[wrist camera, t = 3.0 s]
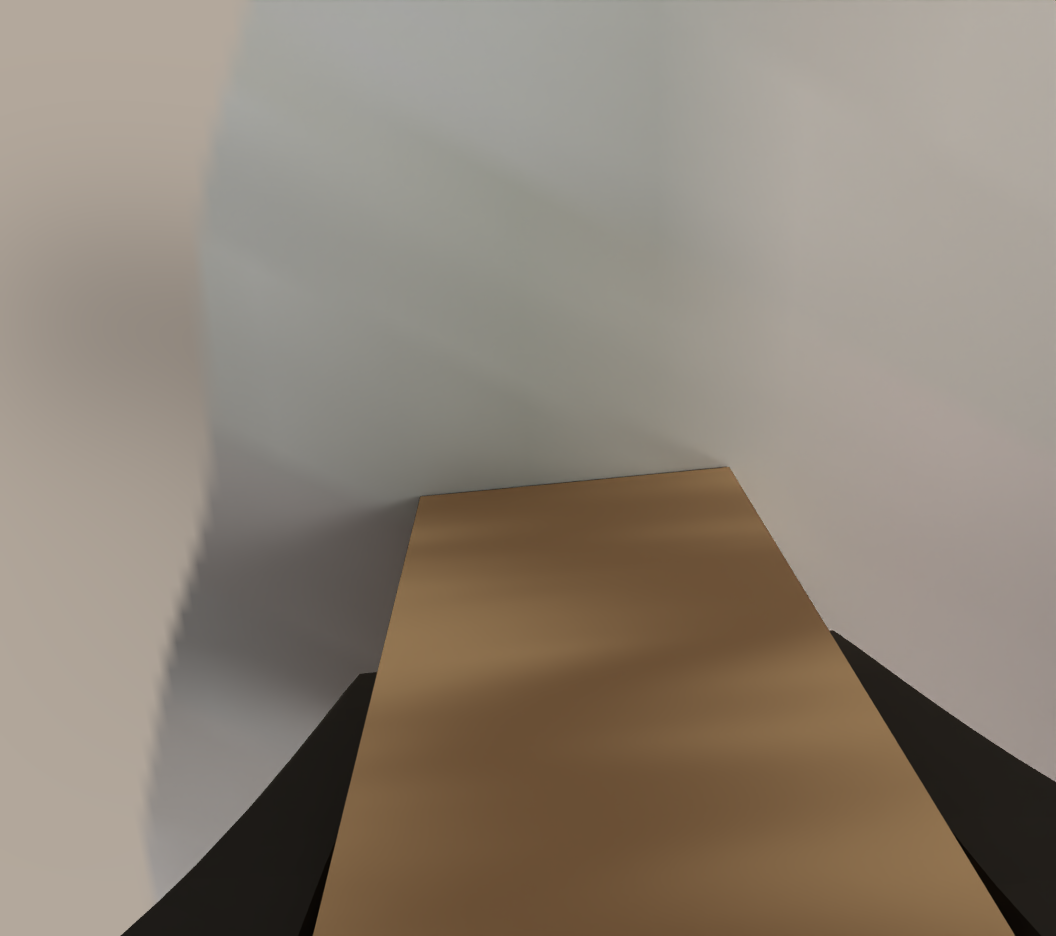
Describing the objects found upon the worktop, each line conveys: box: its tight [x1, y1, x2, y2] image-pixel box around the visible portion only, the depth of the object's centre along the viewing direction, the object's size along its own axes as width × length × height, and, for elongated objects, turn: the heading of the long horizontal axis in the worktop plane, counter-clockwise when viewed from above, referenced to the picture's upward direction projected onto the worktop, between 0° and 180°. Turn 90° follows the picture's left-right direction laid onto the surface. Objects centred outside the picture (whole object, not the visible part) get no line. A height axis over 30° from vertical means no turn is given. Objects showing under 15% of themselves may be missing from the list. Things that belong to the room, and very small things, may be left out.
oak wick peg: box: [313, 467, 1015, 936], centre depth 9 cm, size 4×4×8 cm
